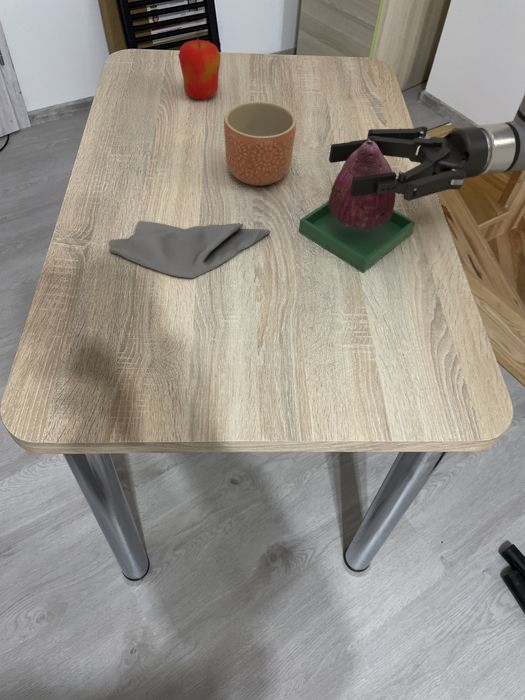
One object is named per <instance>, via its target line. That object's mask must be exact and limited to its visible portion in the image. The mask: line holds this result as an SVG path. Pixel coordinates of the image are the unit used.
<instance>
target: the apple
mask: <svg viewBox="0 0 525 700" xmlns="http://www.w3.org/2000/svg"><path fill="white" fill-rule="evenodd" d="M178 60H179V65H180V69H181V73H182V78H183V79H182V80H183V88H184V91H185V93H186V94H187V95H188V96H189V97H190V98H192V99H194V100H206V99H209V98H211V97H213V95H215V94H216V92H218V90H219V89H218V88H219V73H220V65H221V53H220V51H219V48H218V47H217V46H216V44H214V43H213V42H210V41H207V40H204V39H199V37H197V38H196V39H194V40H193V39H192V40H190V41H186V42H184V43H183V44H182V45H181V46H180V50H179V52H178Z"/></svg>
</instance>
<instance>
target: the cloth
mask: <svg viewBox="0 0 525 700" xmlns="http://www.w3.org/2000/svg"><path fill="white" fill-rule="evenodd" d="M243 227H244V223H241V222H236V223H228V224H208V225H194V226H191V227H187V228H183V227H182V228H181V227H177V226H174V225H169V224H166V223H159V222H153V221H148V220H147V221H146V220H139V221H137V224H136V226H135V230H134V233H133V234H132V235H130V236H129V237H127V238H116V239H110V240H109V241H108V242H109V248H108V250H109V251H110V252H111V254H113V255H116V256H121V257H122V258H124V259H127V260H128V261H131V262H133V263H136V264H138V265H141V266H142V267H145V268H148V269H151V270H155V271H157V272H159V273H162V274H166V275H170V276H173V277H179V278H186V279H187V278H189V279H194V278H197V277H199V276H201V275H204V274H205V273H207V272H208V273H209V271H212V270H213V269H216V268H217V267H220V266H221V265H222V264H223V263H225V262H227V261H228V260H230V259H231V258H233V257H235V255H237V254H238V253H239V252H240V251H242V250H245V249H247V248H250V247H251V246H252V245H254V244H255V243H256V242H259V240H261V239H263V238H264V237H265V236H267V235H268V234H270V233H271V231H270V230H271V229H264V228H243Z"/></svg>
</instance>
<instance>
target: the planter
mask: <svg viewBox="0 0 525 700" xmlns="http://www.w3.org/2000/svg"><path fill="white" fill-rule="evenodd" d="M296 130H297V119H296V116H295V114H294V113H293V112H292V111H291V110H290V109H289V108H288V107H287V106H284V105H283V104H280V103H277V102H273V101H267V100H248V101H243V102H240V103H237V104H234V105H232V106H231V107H229V109H227V111H226V112H225V114H224V118H223V135H224V147H225V149H224V150H225V152H224V153H225V160H226V164H227V167H228V170H229V172H230V173H231V174H232V175H233V176H234V177H235V178H236V179H237V180H239V181H241V182H242V183H245V184H247V185H250V186H257V187H258V186H259V187H261V186H262V187H263V186H268V185H271V184H274V183H276V182H278V181H279V180H282V179H283V178H284V176H286V174H287V173H288V171H289V169H290V167H291V163H292V159H293V152H294V145H295V138H296Z"/></svg>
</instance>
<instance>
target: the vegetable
mask: <svg viewBox="0 0 525 700" xmlns="http://www.w3.org/2000/svg"><path fill="white" fill-rule="evenodd" d="M390 172H393V169H392V167H391V164H390V163H389V161H388V160H387V158H386V156H383V155H382V153H381V151H380V149H379V147H378V145H377V144H376V143H375V142H374V141H370V140H369V139H368V140H367V141H366V142H365V143H363V144H362V145H361V147H360V148H358V149H357V150H356V151H355V152H353V153H352V154H351V155H350V156H349V158H348V159H347V160H346V161H344V163H343V165H342V167H341V169H340V171H339V172H338V173H337V176H336V178H335V180H334V182H333V185H332V187H331V192H330V194H329V197H328V200H327V201H328V208H329V210H330V211H331V213H332V214H333V215H334V216H335V217H336V218H337V219H338V220H339V221H340V222H341V223H343V224H345V225H346V226H350V227H354V228H375V227H377V226H380V225H382V224H384V223H386V222H388V221H389V220H390V218H391V216H392V212H393V209H394V210H395V204H396V194H397V193H395V192H392V193H385V194H376V193H374V194H367V195H360V196H353V197H351V195H350V190H351V185H352V180H353V178H354V177H361V176H369V175H376V174H383V173H390Z"/></svg>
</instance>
